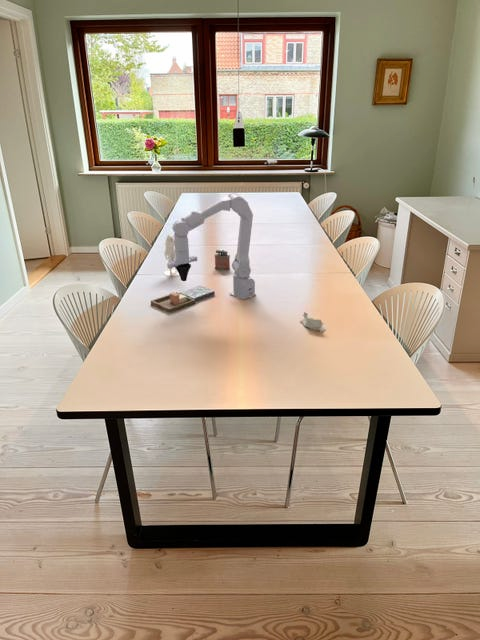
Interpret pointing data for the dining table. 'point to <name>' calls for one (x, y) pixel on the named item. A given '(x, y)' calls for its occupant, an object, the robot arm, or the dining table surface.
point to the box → (171, 304)
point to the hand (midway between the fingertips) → (183, 280)
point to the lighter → (222, 260)
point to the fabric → (312, 323)
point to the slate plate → (198, 293)
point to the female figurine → (170, 255)
